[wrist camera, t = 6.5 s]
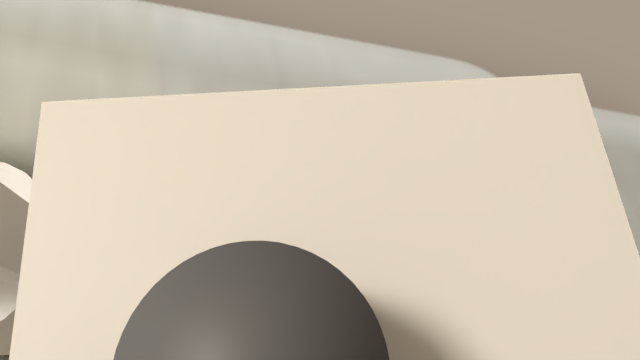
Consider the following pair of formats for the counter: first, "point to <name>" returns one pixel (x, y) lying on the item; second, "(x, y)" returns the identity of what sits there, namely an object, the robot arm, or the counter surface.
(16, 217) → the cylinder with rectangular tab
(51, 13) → the counter surface
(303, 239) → the cream carton
